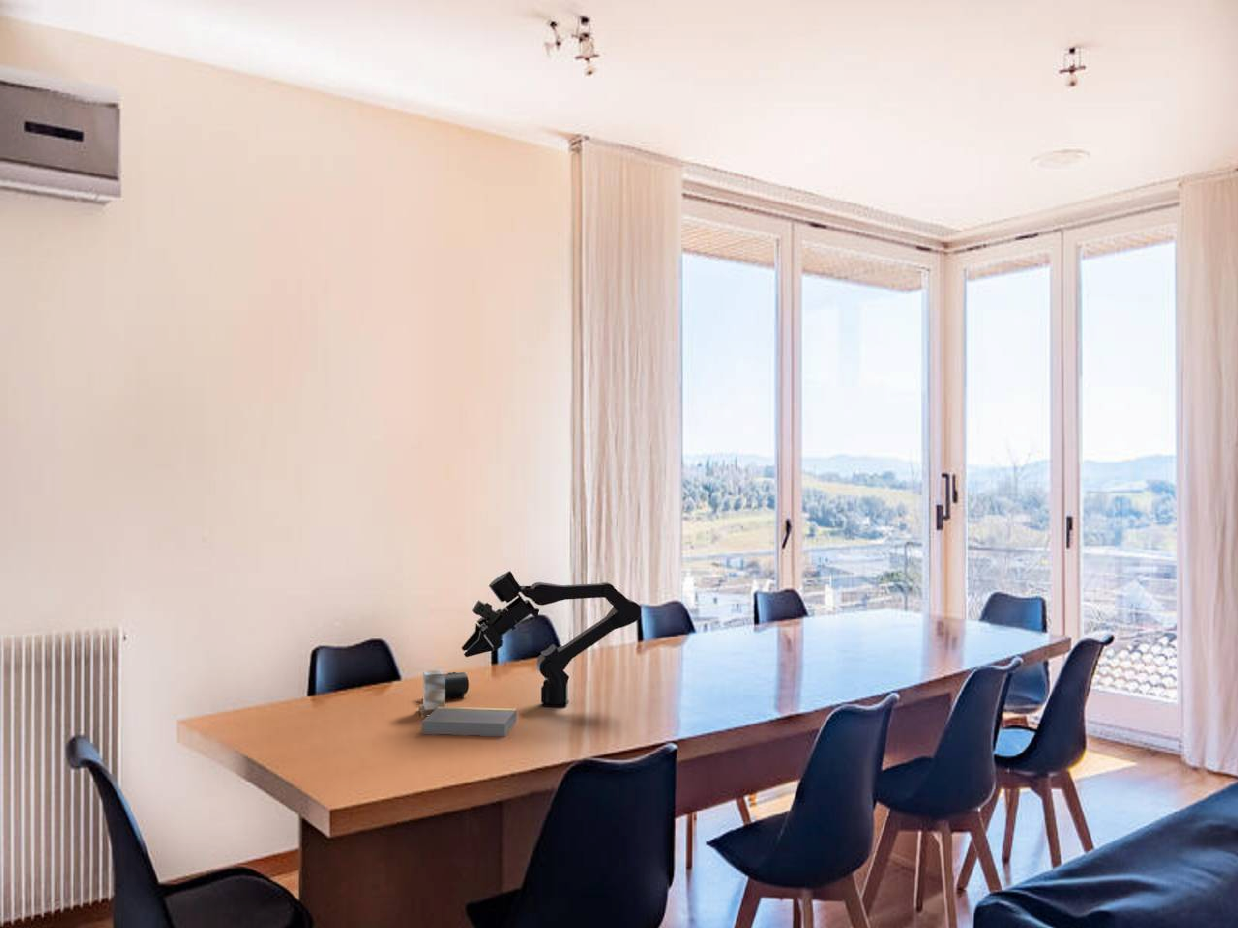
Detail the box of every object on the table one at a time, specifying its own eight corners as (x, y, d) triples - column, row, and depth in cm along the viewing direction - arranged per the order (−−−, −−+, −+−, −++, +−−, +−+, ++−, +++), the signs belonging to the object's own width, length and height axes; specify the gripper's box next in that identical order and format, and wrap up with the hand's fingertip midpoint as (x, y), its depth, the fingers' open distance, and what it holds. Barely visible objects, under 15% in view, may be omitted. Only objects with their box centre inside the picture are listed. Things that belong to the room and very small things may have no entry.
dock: (516, 721, 234) (516, 708, 234) (504, 736, 220) (504, 723, 220) (438, 718, 236) (438, 706, 236) (422, 733, 222) (422, 720, 222)
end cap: (435, 702, 253) (435, 678, 253) (425, 697, 259) (425, 673, 259) (469, 698, 258) (469, 673, 258) (458, 693, 264) (458, 669, 264)
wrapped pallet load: (445, 708, 246) (446, 668, 246) (449, 715, 240) (449, 674, 240) (418, 710, 244) (419, 670, 244) (421, 716, 238) (421, 675, 238)
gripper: (489, 588, 257) (443, 623, 254) (497, 596, 239) (447, 634, 236) (513, 619, 259) (468, 655, 256) (522, 630, 241) (473, 668, 237)
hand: (463, 652), depth 246 cm, fingers open, 9 cm apart
